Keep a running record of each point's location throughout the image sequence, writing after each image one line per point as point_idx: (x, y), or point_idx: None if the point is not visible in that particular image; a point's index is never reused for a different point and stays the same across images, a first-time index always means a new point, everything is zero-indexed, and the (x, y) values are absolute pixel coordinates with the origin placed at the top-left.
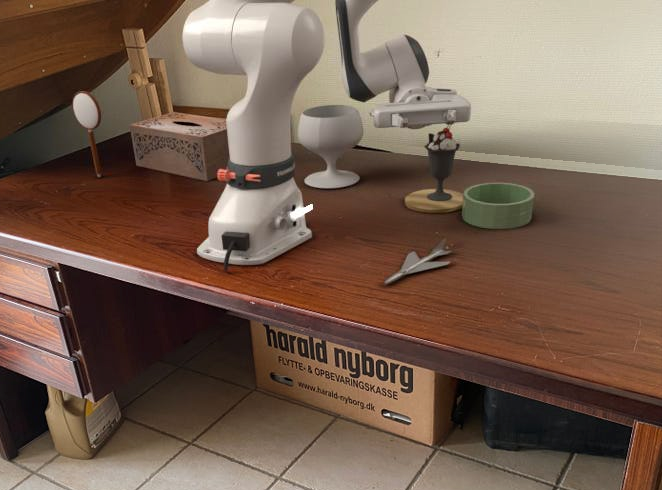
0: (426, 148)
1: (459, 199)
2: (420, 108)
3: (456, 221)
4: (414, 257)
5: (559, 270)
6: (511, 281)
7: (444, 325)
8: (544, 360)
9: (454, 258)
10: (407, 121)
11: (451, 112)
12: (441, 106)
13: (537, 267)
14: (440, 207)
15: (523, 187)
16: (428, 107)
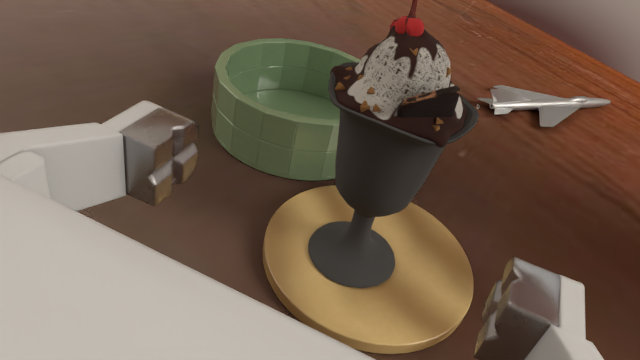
0: (476, 110)
1: (310, 208)
2: (280, 312)
3: None
4: (546, 115)
5: (361, 28)
6: None
7: (549, 48)
8: (483, 3)
9: (476, 96)
10: (508, 263)
11: (78, 136)
12: (33, 200)
13: (380, 40)
14: None
15: (224, 62)
16: (174, 271)
